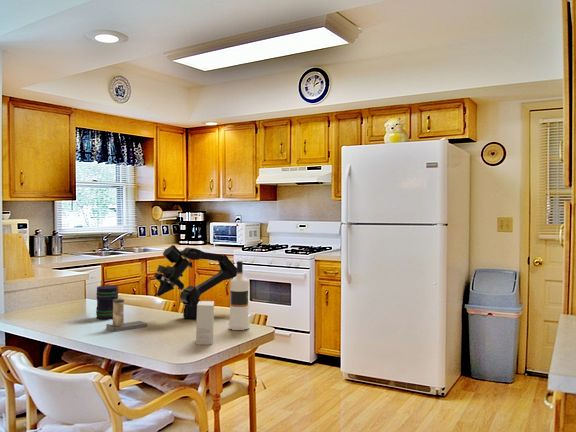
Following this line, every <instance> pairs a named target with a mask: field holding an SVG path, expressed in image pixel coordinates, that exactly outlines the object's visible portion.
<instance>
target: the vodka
mask: <svg viewBox="0 0 576 432" xmlns="http://www.w3.org/2000/svg"><path fill="white" fill-rule="evenodd" d="M243 264H244V263H243V261H242V260H237V261H236V268H237V276H236V277H234V278H231V279H230V282H229V285H230V286H229V287H230V288H229V290H230V301H229V302H230V305H229V319H228V329H229V330H231V329H232V330H231V331H234V330H243V331H245V330H244V329H247V330H249V329H250V320H249V307H250V306H249V289H250V288H249V287H250V281H249V279H247V278H246V277H245V276H243V271H244V270H243V269H244V268H243Z"/></svg>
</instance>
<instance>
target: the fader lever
mask: <svg viewBox="0 0 576 432" xmlns="http://www.w3.org/2000/svg"><path fill="white" fill-rule="evenodd" d="M124 304H125V299H123V298H117V299H113V319H112V325H115V326H122V325H123V323H124V306H125V305H124Z"/></svg>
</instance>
